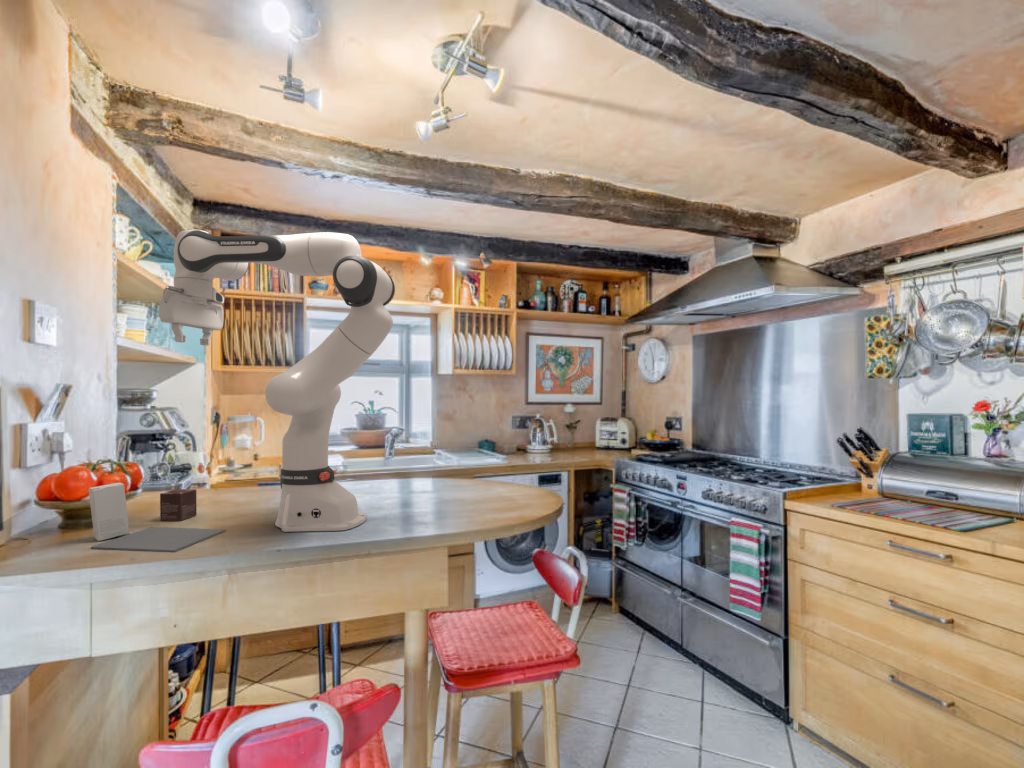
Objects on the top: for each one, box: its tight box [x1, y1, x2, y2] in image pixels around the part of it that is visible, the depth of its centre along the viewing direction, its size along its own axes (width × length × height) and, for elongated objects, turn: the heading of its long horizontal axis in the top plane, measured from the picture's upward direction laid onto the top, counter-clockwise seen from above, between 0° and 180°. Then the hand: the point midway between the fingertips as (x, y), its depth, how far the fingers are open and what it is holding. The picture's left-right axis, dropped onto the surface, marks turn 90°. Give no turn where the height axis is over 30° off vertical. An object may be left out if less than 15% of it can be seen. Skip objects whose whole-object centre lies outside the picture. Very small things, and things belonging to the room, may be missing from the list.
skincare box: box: [88, 482, 130, 542], centre depth 118 cm, size 6×4×12 cm
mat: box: [90, 526, 227, 553], centre depth 117 cm, size 20×16×1 cm
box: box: [159, 488, 198, 522], centre depth 136 cm, size 6×6×7 cm
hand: (192, 343), depth 135 cm, fingers open, 8 cm apart
